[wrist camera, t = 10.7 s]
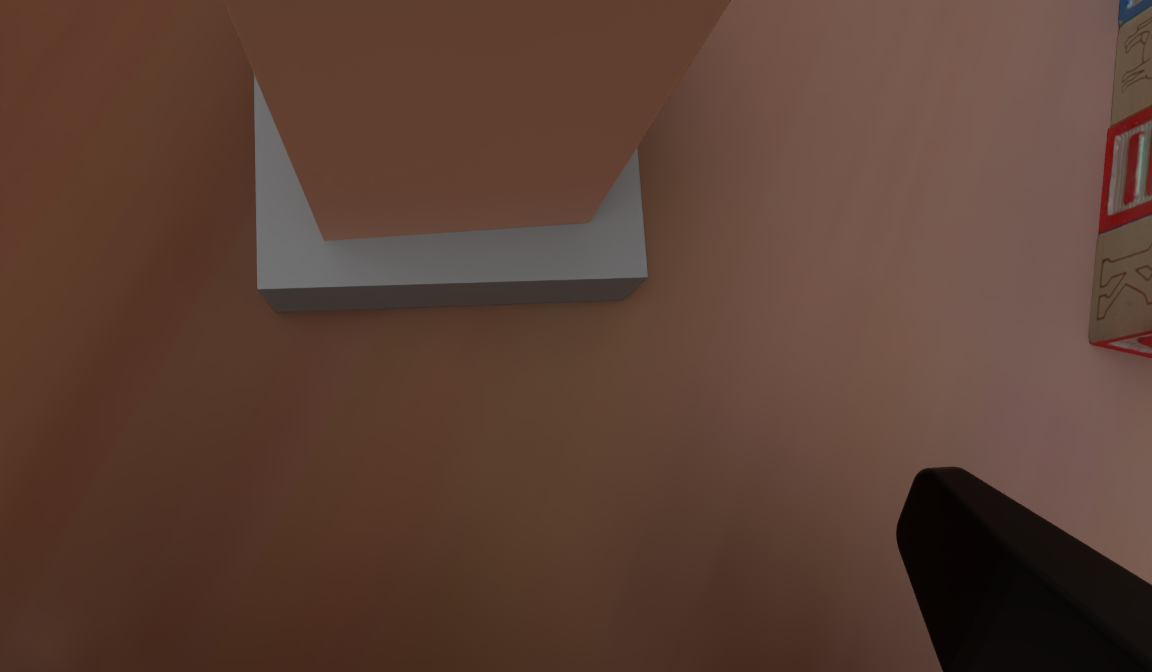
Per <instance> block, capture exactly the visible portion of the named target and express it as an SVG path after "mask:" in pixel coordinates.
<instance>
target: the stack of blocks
mask: <svg viewBox="0 0 1152 672" xmlns="http://www.w3.org/2000/svg"><path fill="white" fill-rule="evenodd" d="M1118 20H1119V25H1120V29H1119V33H1118V39H1117V51H1116V65H1115V74H1114V89H1113V99H1112V112H1111V127H1110V128H1109V129H1108V132H1107V142H1106V151H1105V163H1104V176H1103V187H1102V197H1101V209H1100V222H1099V231H1098V232H1099V237H1098V240H1097V246H1096V257H1095V267H1094V278H1093V289H1092V301H1091V312H1090V324H1089V343H1090V344H1092V345H1096V346H1101V347H1105V348H1109V349H1114V350H1118V351H1123V352H1127V353H1132V354H1136V355H1141V356H1145V357H1149V358H1152V0H1120V8H1119V17H1118Z"/></svg>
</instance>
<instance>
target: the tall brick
mask: <svg viewBox="0 0 1152 672" xmlns="http://www.w3.org/2000/svg"><path fill="white" fill-rule="evenodd" d="M223 1H224V3H225V6H226V8H227V11H228V13H229V15H230V18H231V20H232V22H233V25H234V27H235V30H236V32H237V34H238V37H239V39H240V42H241V44H242V46H243V49H244V51H245V53H246V56H247V58H248V61H249V63H250V65H251V68H252V70H253V73H254V75H255V77H256V80H257V82H258V84H259V87H260V89H261V92H262V94H263V96H264V99H265V101H266V104H267V106H268V108H269V111H270V113H271V115H272V118H273V120H274V123H275V125H276V127H277V130H278V132H279V135H280V137H281V139H282V142H283V144H284V146H285V149H286V151H287V154H288V156H289V158H290V161H291V163H292V166H293V168H294V170H295V173H296V175H297V177H298V180H299V182H300V185H301V187H302V189H303V192H304V194H305V197H306V199H307V201H308V204H309V206H310V208H311V211H312V213H313V216H314V218H315V220H316V223H317V225H318V228H319V230H320V232H321V235H322V237H323V239H324V241H328V240H343V239H358V238H373V237H387V236H401V235H416V234H430V233H445V232H459V231H474V230H488V229H503V228H517V227H532V226H546V225H560V224H575V223H589V222H590V221H591V219H592V217H593V216H594V214H595V213H596V211H597V210H598V208H599V206H600V205H601V203H602V202H603V200H604V199H605V197H606V196H607V194H608V192H609V191H610V189H611V188H612V186H613V185H614V183H615V181H616V180H617V178H618V177H619V175H620V174H621V172H622V170H623V169H624V167H625V166H626V164H627V163H628V161H629V159H630V158H631V156H632V155H633V153H634V152H635V150H636V148H637V147H638V145H639V144H640V142H641V141H642V139H643V138H644V136H645V134H646V133H647V131H648V130H649V128H650V127H651V125H652V123H653V122H654V120H655V119H656V117H657V116H658V114H659V112H660V111H661V109H662V108H663V106H664V105H665V103H666V101H667V100H668V98H669V97H670V95H671V94H672V92H673V90H674V89H675V87H676V86H677V84H678V83H679V81H680V79H681V78H682V76H683V75H684V73H685V72H686V70H687V69H688V67H689V65H690V64H691V62H692V61H693V59H694V58H695V56H696V54H697V53H698V51H699V50H700V48H701V47H702V45H703V43H704V42H705V40H706V39H707V37H708V36H709V34H710V32H711V31H712V29H713V28H714V26H715V25H716V23H717V21H718V20H719V18H720V17H721V15H722V14H723V12H724V10H725V9H726V7H727V6H728V4H729V3H730V1H731V0H223Z"/></svg>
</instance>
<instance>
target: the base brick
mask: <svg viewBox="0 0 1152 672" xmlns="http://www.w3.org/2000/svg"><path fill="white" fill-rule="evenodd" d="M254 107H255V167H256V228H257V289H258V291H259V292H260V293H261V294H262V296H263V297H264V298H265V300H266V301H267V302H268V303H269V305H270V306H271V307H272V309H273V310H274V311H275V312H300V311H329V310H358V309H386V308H415V307H444V306H473V305H501V304H530V303H559V302H588V301H617V300H624V299H625V298H626V297H627V296H628V295H629V294H631V293H632V292H633V291H634V290H635V289H636V288H637V287H638V286H639V285H640V284H641V283H642V282H643V281H644V280H645V279H646V278H648V274H647V262H646V249H645V236H644V224H643V211H642V199H641V186H640V173H639V161H638V148H636V150H635V152H634V153H633V155H632V156H631V158H630V159H629V161H628V163H627V164H626V166H625V167H624V169H623V170H622V172H621V174H620V175H619V177H618V178H617V180H616V181H615V183H614V185H613V186H612V188H611V189H610V191H609V192H608V194H607V196H606V197H605V199H604V200H603V202H602V203H601V205H600V206H599V208H598V210H597V211H596V213H595V214H594V216H593V217H592V219H591V221H590V222H589V223H575V224H560V225H546V226H532V227H517V228H503V229H488V230H474V231H459V232H445V233H430V234H416V235H401V236H387V237H373V238H358V239H343V240H328V241H324V239H323V237H322V235H321V232H320V230H319V228H318V225H317V223H316V220H315V218H314V216H313V213H312V211H311V208H310V206H309V204H308V201H307V199H306V197H305V194H304V192H303V189H302V187H301V185H300V182H299V180H298V177H297V175H296V173H295V170H294V168H293V166H292V163H291V161H290V158H289V156H288V154H287V151H286V149H285V146H284V144H283V142H282V139H281V137H280V135H279V132H278V130H277V127H276V125H275V123H274V120H273V118H272V115H271V113H270V111H269V108H268V106H267V104H266V101H265V99H264V96H263V94H262V92H261V89H260V87H259V84H258V82H257V80H256V77H255V75H254Z"/></svg>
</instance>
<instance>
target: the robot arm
mask: <svg viewBox="0 0 1152 672" xmlns="http://www.w3.org/2000/svg"><path fill="white" fill-rule="evenodd" d="M896 537H897V544H898V548H899V551H900V554H901V557H902V560H903V562H904V565H905V568H906V571H907V574H908V576H909V579H910V582H911V585H912V588H913V590H914V593H915V596H916V599H917V602H918V604H919V607H920V610H921V613H922V616H923V618H924V621H925V624H926V627H927V630H928V632H929V635H930V638H931V641H932V644H933V646H934V649H935V652H936V655H937V657H938V660H939V662H940V665H941V668H942V670H943V672H1152V585H1151V584H1149V583H1148V582H1146V581H1144V580H1143V579H1141V578H1139V577H1138V576H1136V575H1135V574H1133V573H1131V572H1130V571H1128V570H1126V569H1125V568H1123V567H1122V566H1120V565H1118V564H1117V563H1115V562H1113V561H1112V560H1110V559H1109V558H1107V557H1105V556H1104V555H1102V554H1100V553H1099V552H1097V551H1096V550H1094V549H1092V548H1091V547H1089V546H1087V545H1086V544H1084V543H1083V542H1081V541H1079V540H1078V539H1076V538H1074V537H1073V536H1071V535H1070V534H1068V533H1066V532H1065V531H1063V530H1061V529H1060V528H1058V527H1057V526H1055V525H1053V524H1052V523H1050V522H1048V521H1047V520H1045V519H1044V518H1042V517H1040V516H1039V515H1037V514H1036V513H1034V512H1032V511H1031V510H1029V509H1027V508H1026V507H1024V506H1023V505H1021V504H1019V503H1018V502H1016V501H1014V500H1013V499H1011V498H1010V497H1008V496H1006V495H1005V494H1003V493H1001V492H1000V491H998V490H997V489H995V488H993V487H992V486H990V485H988V484H987V483H985V482H984V481H982V480H980V479H979V478H977V477H975V476H974V475H972V474H971V473H969V472H967V471H966V470H964V469H962V468H959V467H937V468H926V469H923V470H921V471H920V472H919V473H918V474H917V475H916V476H915V478H914V480H913V483H912V486H911V488H910V491H909V494H908V496H907V499H906V502H905V504H904V507H903V510H902V512H901V515H900V518H899V520H898V524H897V531H896Z"/></svg>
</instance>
